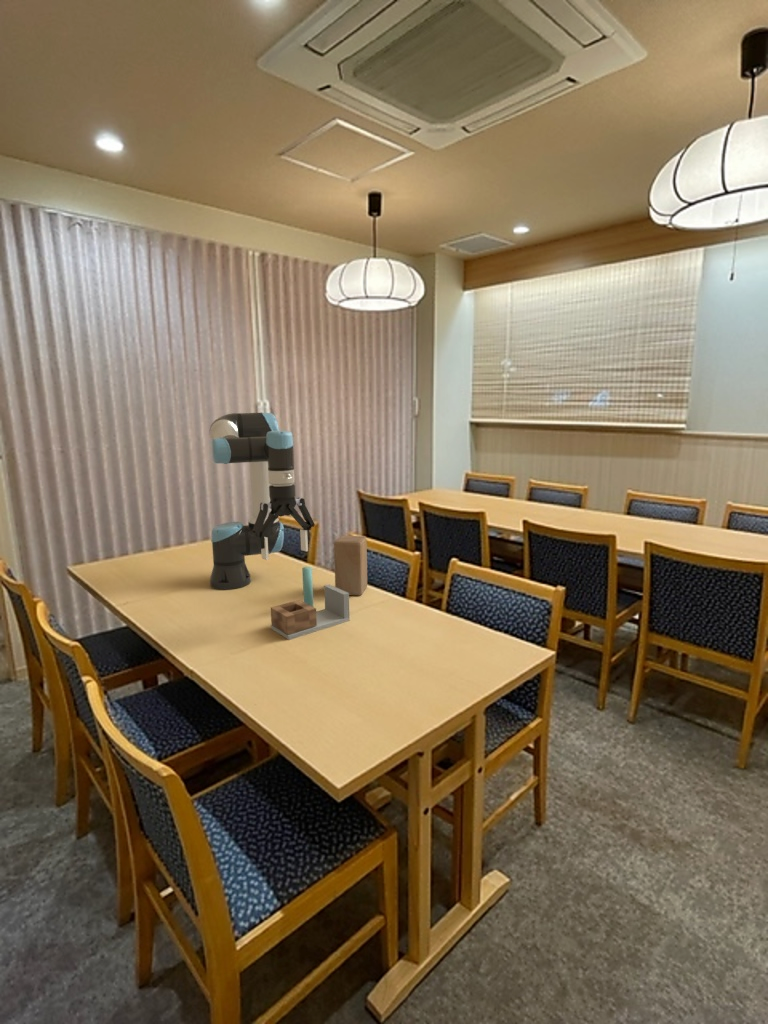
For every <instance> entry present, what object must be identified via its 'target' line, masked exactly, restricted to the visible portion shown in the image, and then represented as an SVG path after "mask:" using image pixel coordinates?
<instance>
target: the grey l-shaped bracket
mask: <svg viewBox="0 0 768 1024" xmlns="http://www.w3.org/2000/svg"><path fill="white" fill-rule="evenodd" d="M323 589H324V608H323V609H320V610H316V620H317V626H314V627H311V628H307V629H304V630H301V631H298V632H294V633H291V634H286V633H285V632H283V631H281V630H280V629H278V628H277V627H275V626H273V625H272V624H270V629H271V630H273V631H274V632H275V633H277V634H279V635H280V636H282V637H284V638H285V639H287V640H288V641H290V640H293V639H296V638H300V637H302V636H305V635H308V634H311V633H315V632H317V631H322V630H324V629H327V628H331V627H334V626H336V625H340V624H343V623H346V622H349V621H350V620H351V619H350V615H351V614H350V595H349V593H348V592H345V591H343V590H341V589H338V588H336V587H335V586H333V585H331V584H325V585H324V587H323Z"/></svg>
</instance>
